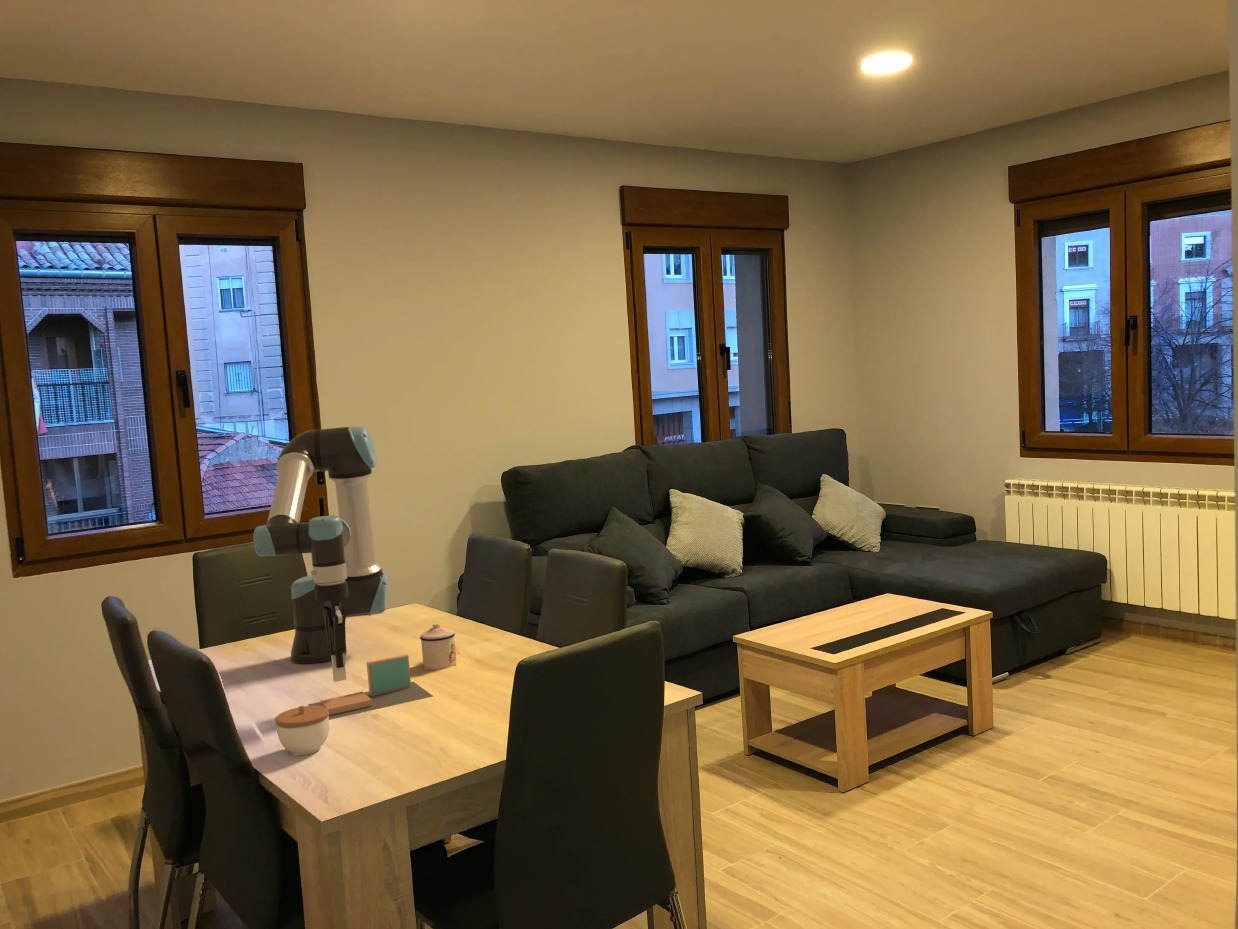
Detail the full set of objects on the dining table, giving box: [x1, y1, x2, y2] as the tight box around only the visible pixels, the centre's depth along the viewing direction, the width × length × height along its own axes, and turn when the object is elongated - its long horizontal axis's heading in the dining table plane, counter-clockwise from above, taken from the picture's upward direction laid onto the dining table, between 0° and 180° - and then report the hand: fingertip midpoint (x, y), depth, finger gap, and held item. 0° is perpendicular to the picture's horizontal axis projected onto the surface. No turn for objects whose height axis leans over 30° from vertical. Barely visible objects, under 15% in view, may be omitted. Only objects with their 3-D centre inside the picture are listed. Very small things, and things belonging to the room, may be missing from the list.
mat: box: [307, 681, 434, 721], centre depth 238 cm, size 15×26×1 cm, turn 120°
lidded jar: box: [274, 705, 330, 756], centre depth 208 cm, size 11×11×9 cm
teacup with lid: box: [419, 622, 457, 671], centre depth 265 cm, size 12×9×12 cm
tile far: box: [366, 653, 412, 696], centre depth 244 cm, size 2×10×8 cm, turn 120°
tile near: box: [319, 691, 372, 715], centre depth 234 cm, size 2×10×8 cm
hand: (340, 680), depth 236 cm, fingers closed
